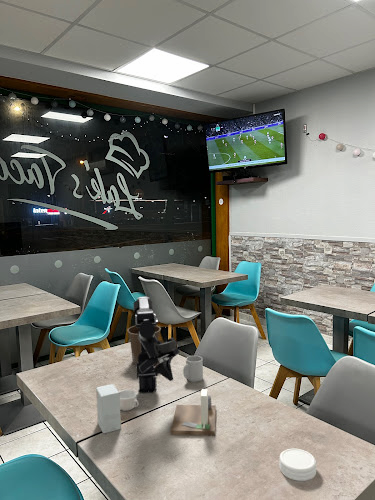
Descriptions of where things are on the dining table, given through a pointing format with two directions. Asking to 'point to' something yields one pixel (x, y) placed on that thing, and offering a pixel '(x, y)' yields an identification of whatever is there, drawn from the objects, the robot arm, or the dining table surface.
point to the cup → (193, 368)
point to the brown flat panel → (192, 421)
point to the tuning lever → (205, 406)
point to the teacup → (128, 399)
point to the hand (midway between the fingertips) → (172, 380)
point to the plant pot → (138, 341)
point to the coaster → (297, 464)
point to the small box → (108, 408)
